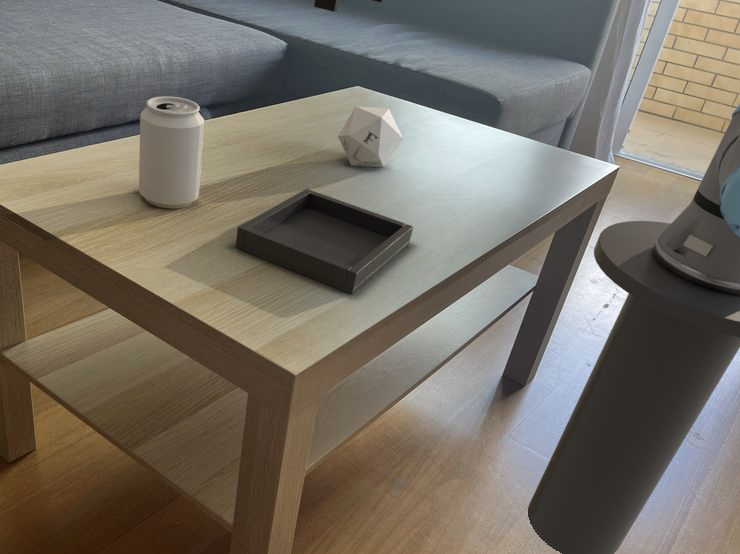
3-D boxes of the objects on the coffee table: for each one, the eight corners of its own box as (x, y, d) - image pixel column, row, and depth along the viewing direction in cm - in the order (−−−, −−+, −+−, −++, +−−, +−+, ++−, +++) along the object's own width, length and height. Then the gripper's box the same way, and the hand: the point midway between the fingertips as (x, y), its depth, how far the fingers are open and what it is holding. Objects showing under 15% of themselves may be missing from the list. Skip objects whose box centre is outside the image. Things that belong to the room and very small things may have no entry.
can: (160, 181, 95) (163, 89, 88) (209, 197, 93) (217, 104, 86) (126, 199, 89) (127, 101, 82) (178, 217, 87) (183, 117, 80)
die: (322, 159, 112) (342, 121, 102) (350, 121, 115) (371, 80, 106) (368, 190, 112) (391, 155, 103) (394, 151, 115) (419, 113, 106)
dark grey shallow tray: (408, 245, 89) (413, 226, 87) (351, 294, 77) (356, 273, 76) (303, 207, 94) (306, 188, 93) (235, 247, 82) (237, 226, 81)
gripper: (400, -198, 89) (365, -9, 101) (301, -229, 71) (273, 6, 83) (457, -191, 86) (415, 2, 98) (370, -222, 68) (331, 20, 80)
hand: (350, 4), depth 91 cm, fingers open, 13 cm apart
